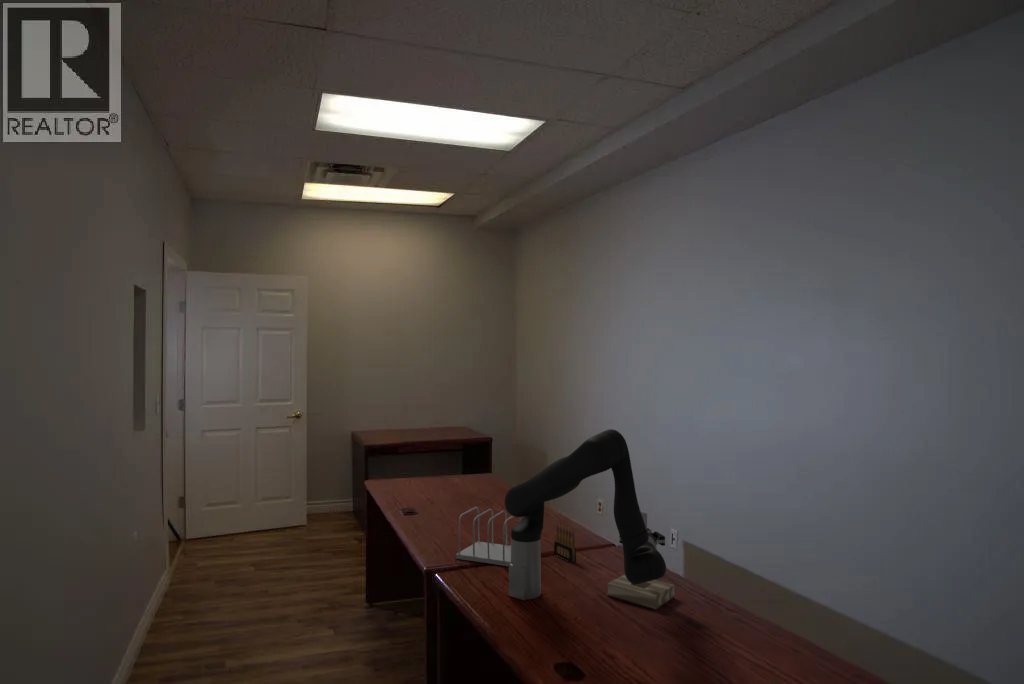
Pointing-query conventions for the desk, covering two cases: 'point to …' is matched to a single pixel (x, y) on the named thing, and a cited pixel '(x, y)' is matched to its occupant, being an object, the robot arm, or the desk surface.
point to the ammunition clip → (565, 543)
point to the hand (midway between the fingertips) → (641, 530)
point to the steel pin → (644, 518)
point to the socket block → (641, 592)
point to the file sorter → (486, 544)
